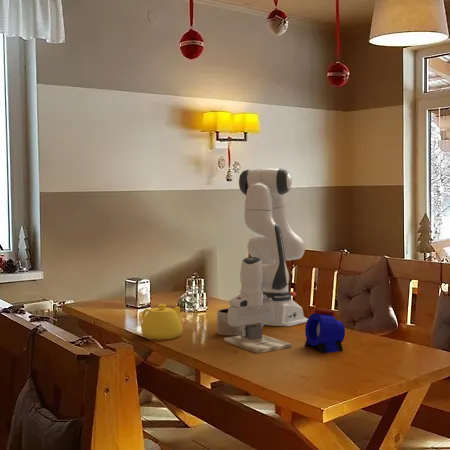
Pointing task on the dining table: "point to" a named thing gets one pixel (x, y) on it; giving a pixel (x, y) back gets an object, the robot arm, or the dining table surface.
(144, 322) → the teapot
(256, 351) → the board
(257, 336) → the block
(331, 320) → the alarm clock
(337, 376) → the dining table surface
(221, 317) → the planter
